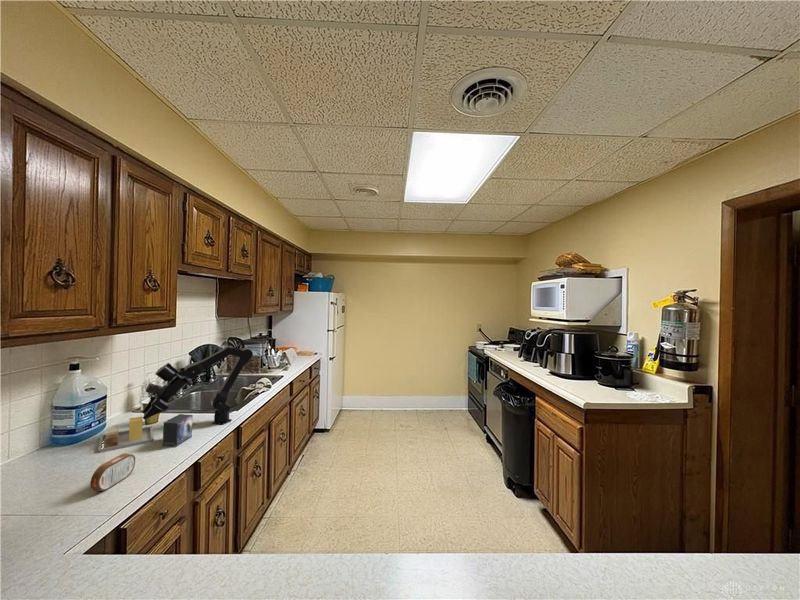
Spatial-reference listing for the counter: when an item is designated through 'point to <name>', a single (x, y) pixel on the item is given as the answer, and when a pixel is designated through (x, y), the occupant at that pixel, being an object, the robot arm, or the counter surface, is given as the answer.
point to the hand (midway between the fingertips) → (143, 415)
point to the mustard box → (135, 428)
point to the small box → (177, 430)
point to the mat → (162, 427)
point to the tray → (124, 440)
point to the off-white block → (112, 431)
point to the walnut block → (111, 440)
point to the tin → (112, 472)
